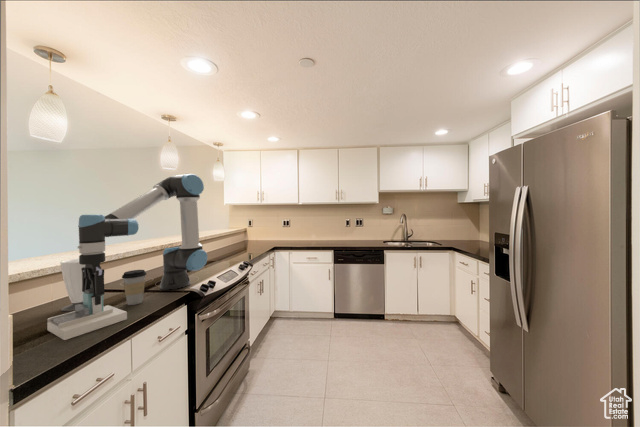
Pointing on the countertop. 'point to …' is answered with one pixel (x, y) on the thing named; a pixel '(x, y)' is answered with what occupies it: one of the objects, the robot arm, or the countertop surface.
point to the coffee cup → (134, 286)
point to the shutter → (73, 314)
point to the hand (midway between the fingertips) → (93, 311)
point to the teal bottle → (89, 299)
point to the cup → (72, 282)
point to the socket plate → (86, 322)
